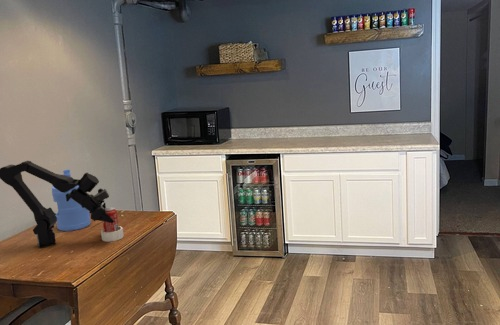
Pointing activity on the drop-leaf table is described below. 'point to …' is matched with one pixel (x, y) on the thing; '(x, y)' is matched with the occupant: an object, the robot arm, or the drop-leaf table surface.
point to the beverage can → (107, 225)
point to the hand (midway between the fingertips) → (113, 220)
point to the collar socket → (112, 235)
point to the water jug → (69, 211)
